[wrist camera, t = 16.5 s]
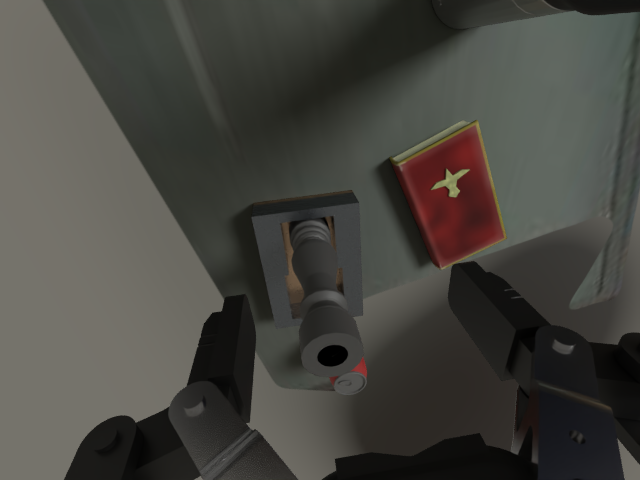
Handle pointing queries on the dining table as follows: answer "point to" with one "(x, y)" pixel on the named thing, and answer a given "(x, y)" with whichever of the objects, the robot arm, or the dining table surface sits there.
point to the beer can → (351, 380)
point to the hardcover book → (451, 194)
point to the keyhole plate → (278, 251)
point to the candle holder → (322, 303)
